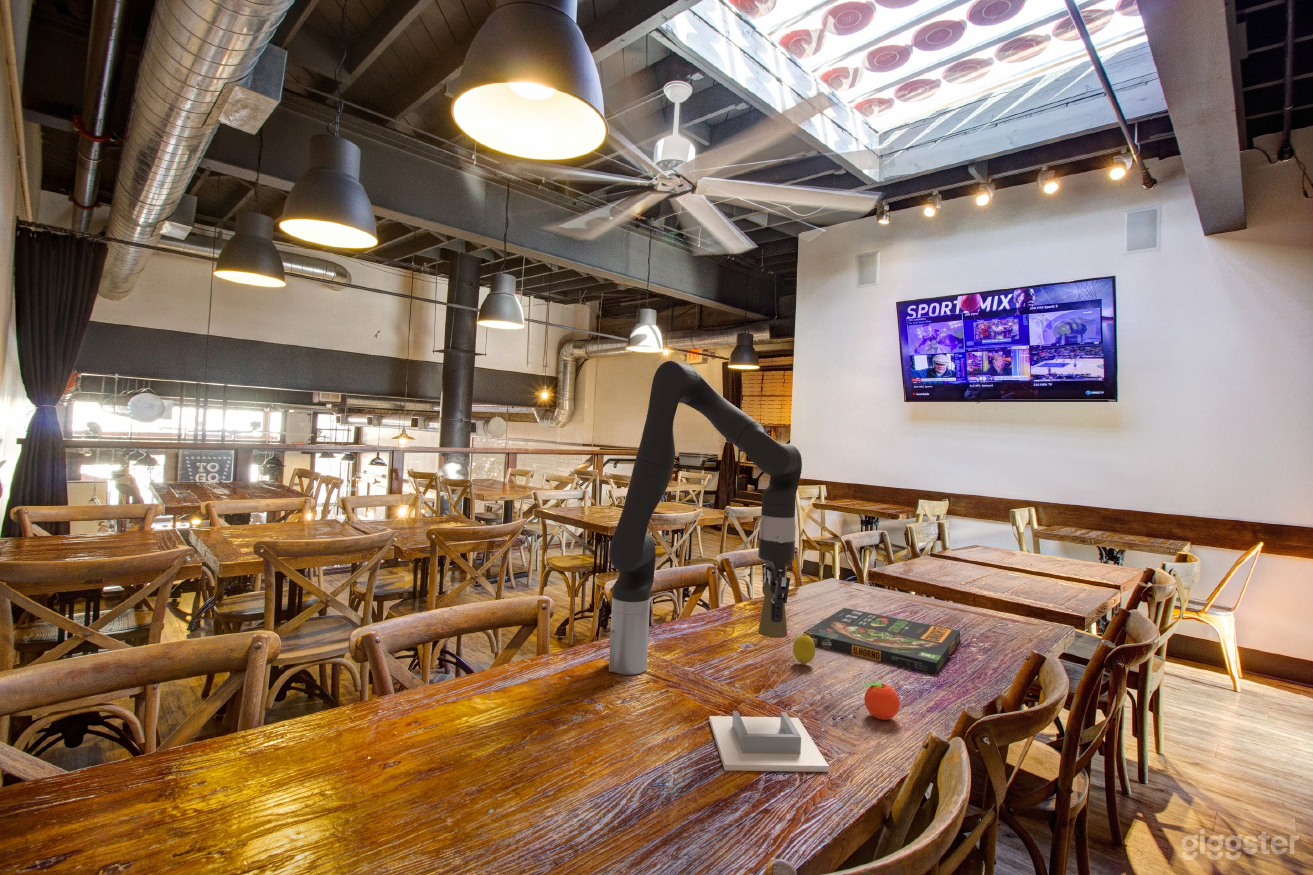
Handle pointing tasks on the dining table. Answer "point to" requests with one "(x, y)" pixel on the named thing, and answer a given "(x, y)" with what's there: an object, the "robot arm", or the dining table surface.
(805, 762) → the U-rest
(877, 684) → the clementine
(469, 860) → the dining table surface
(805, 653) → the lemon
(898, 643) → the pizza box
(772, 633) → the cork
